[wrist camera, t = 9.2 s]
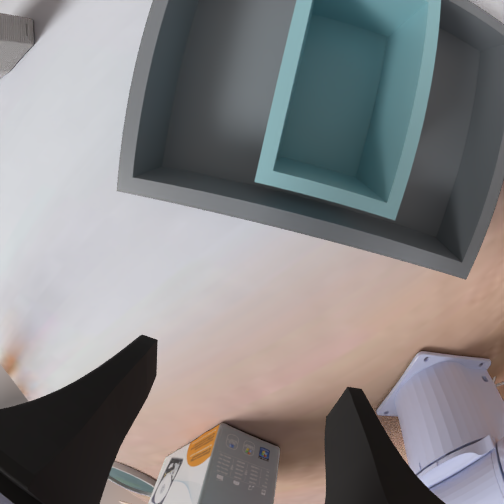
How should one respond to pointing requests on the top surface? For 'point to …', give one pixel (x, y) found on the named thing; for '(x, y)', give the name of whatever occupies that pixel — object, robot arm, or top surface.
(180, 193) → the grey crate
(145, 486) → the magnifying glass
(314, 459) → the top surface
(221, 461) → the hard drive box
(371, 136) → the teal mini crate
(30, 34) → the padlock
